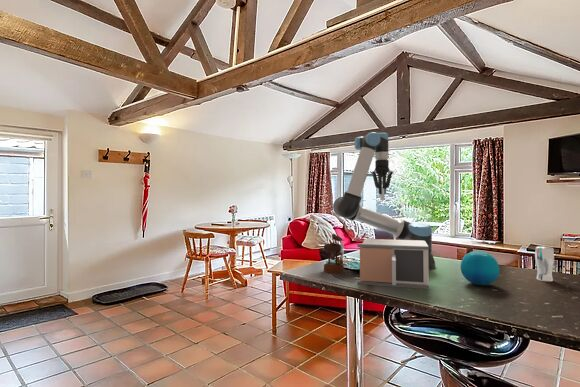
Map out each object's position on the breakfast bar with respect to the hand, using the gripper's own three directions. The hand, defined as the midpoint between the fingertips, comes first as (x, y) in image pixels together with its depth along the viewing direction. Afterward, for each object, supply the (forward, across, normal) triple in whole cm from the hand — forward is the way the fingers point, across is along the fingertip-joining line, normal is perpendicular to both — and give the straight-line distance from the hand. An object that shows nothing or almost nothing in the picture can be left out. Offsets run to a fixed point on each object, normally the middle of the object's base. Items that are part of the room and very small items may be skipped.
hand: (382, 199), depth 196 cm
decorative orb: (+37, -21, +53) cm, 68 cm away
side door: (+35, +25, +49) cm, 66 cm away
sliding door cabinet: (+36, +13, +39) cm, 55 cm away
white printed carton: (+37, -55, +52) cm, 84 cm away
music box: (+37, +35, +15) cm, 53 cm away
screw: (+37, +25, 0) cm, 44 cm away
